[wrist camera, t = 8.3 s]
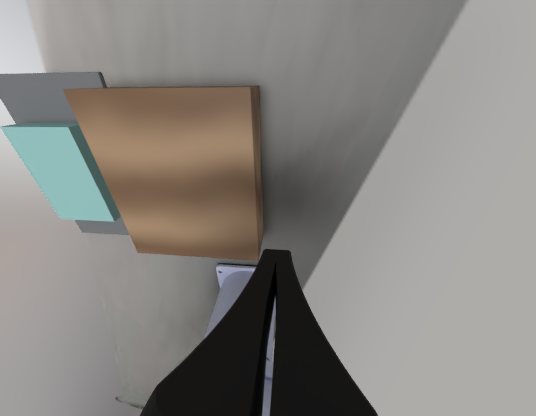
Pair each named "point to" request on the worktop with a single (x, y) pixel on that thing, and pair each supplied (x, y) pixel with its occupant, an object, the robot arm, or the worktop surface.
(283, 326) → the robot arm
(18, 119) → the mat
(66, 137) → the teal rectangular block
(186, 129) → the brown flat block
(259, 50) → the worktop surface
